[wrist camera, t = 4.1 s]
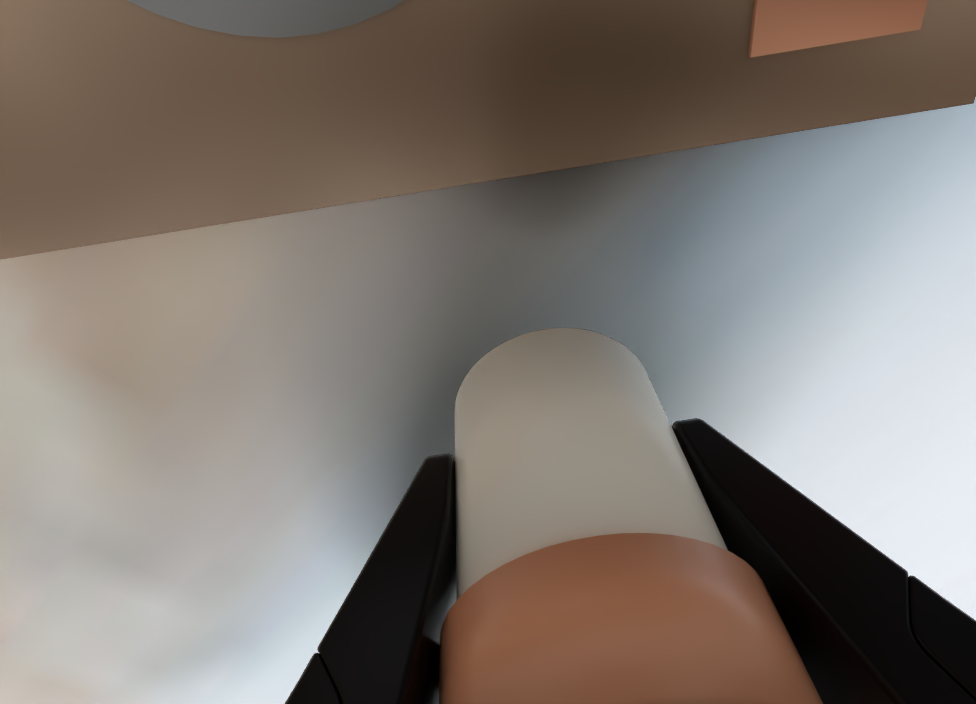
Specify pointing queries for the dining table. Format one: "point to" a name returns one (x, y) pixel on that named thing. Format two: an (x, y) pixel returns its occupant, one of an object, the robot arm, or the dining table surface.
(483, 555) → the mushroom
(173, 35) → the colouring board
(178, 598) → the dining table surface
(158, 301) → the dining table surface
